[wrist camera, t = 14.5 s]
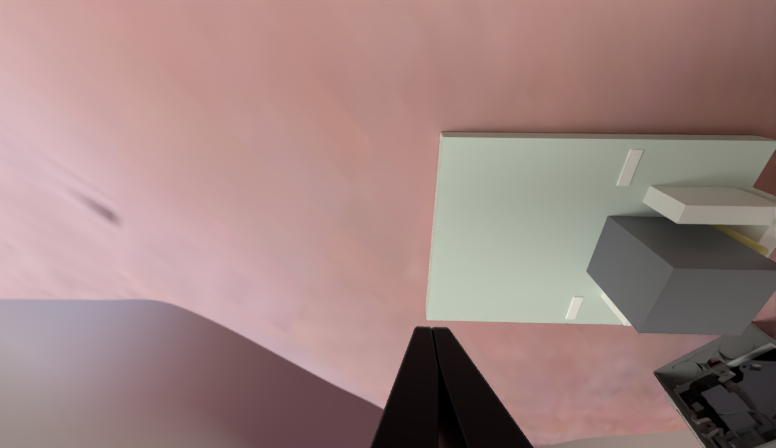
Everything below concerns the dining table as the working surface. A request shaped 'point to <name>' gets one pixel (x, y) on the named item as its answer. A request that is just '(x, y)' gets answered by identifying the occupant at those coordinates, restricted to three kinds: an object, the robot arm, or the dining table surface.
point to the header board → (575, 214)
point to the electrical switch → (727, 390)
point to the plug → (680, 276)
